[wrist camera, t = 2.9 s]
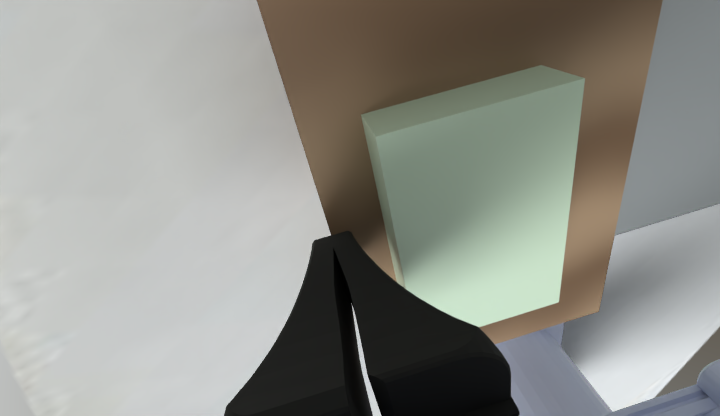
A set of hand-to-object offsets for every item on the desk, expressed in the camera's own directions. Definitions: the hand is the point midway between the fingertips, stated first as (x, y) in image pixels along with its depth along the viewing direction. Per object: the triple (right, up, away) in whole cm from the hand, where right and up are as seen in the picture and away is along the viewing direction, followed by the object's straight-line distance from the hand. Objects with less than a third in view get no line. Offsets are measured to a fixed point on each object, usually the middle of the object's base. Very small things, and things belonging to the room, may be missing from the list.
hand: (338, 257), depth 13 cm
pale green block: (+5, +2, +1) cm, 5 cm away
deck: (+5, +4, +4) cm, 8 cm away
